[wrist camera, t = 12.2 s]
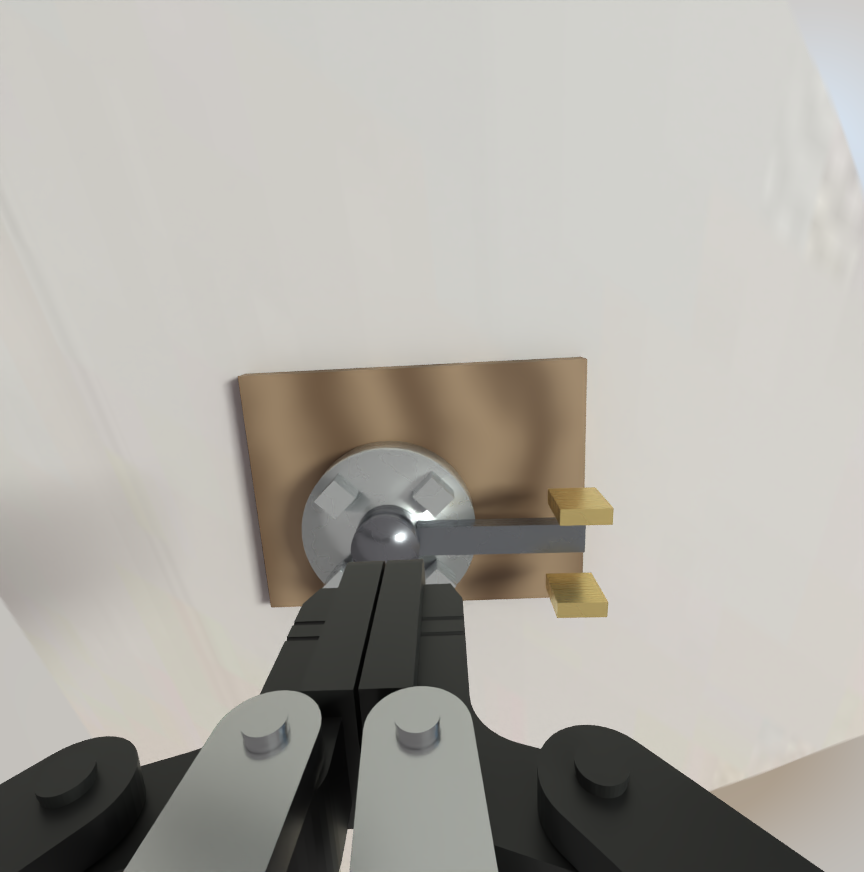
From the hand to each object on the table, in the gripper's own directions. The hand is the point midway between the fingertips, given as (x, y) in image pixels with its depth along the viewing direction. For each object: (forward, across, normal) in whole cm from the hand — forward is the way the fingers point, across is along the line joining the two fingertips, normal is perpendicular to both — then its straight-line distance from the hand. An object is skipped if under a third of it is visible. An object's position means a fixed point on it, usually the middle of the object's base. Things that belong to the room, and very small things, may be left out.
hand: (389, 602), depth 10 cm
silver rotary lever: (+25, -1, +9) cm, 27 cm away
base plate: (+27, +1, +7) cm, 28 cm away
